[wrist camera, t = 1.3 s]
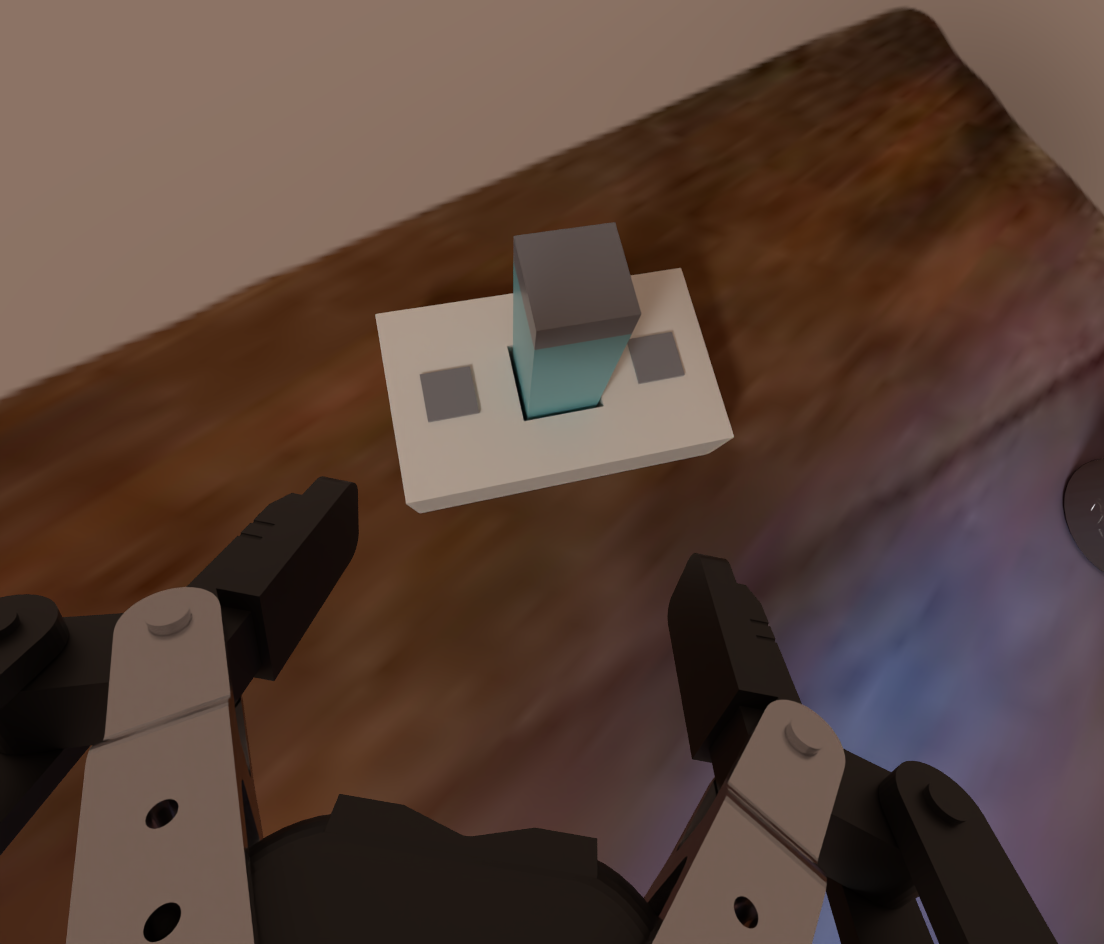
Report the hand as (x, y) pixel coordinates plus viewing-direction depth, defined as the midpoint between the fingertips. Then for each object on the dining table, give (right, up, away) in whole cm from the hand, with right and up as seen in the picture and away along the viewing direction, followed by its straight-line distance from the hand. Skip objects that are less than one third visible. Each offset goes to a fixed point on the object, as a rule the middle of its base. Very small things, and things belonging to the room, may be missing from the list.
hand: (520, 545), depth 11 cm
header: (+1, +7, +22) cm, 23 cm away
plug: (+1, +7, +22) cm, 23 cm away
